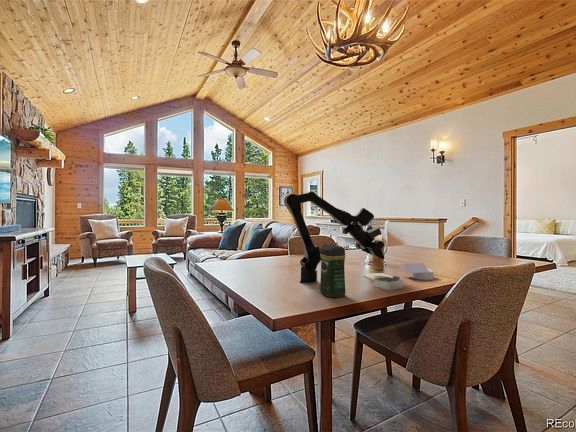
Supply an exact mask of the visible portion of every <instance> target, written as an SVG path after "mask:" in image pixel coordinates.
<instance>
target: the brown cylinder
mask: <svg viewBox="0 0 576 432" xmlns="http://www.w3.org/2000/svg"><path fill="white" fill-rule="evenodd" d="M385 247H386V244H385V245H384V246H383V247H382V249H381V251H382V253H383V255H384V256H385ZM384 264H385V258H384V259H381V258H379V257H377V256H375V255H372V264H371V265H372V267H371V272H372V273H383V274H385V265H384Z"/></svg>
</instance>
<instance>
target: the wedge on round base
mask: <svg viewBox="0 0 576 432" xmlns="http://www.w3.org/2000/svg"><path fill="white" fill-rule="evenodd" d="M400 270H402V271H405V272H408V273H411V277H412V279H413V278H414V279H418V280H427V281H428V280H429V281H430V280H434V277H435V276H434V273H435V271H434V270H433V269H432V268H431V269H430V268H427V266H426V265H425V264H424V262H413V263H410V262H409V263H405V264H404V265H402V267H401V268H400Z"/></svg>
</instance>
